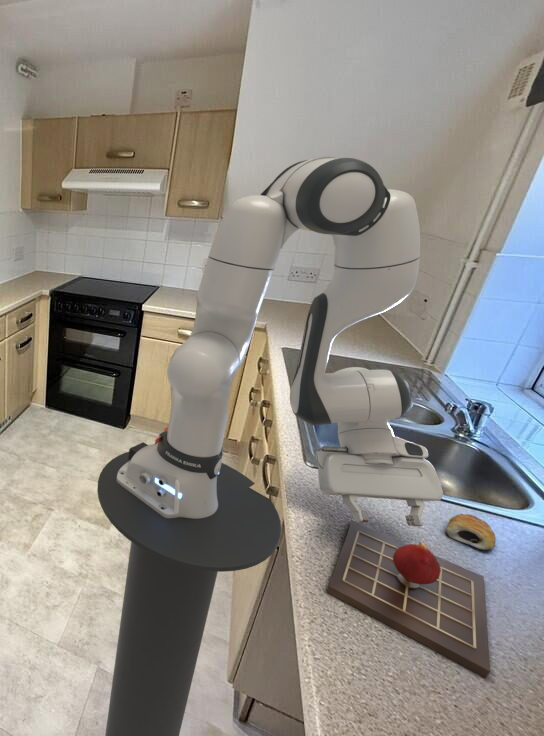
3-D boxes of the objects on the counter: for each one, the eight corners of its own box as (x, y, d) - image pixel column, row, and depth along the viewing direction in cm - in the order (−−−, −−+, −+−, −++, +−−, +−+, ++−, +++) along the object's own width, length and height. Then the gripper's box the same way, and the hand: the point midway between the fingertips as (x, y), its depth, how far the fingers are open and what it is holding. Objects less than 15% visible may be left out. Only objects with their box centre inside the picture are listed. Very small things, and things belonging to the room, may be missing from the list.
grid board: (327, 592, 70) (329, 585, 70) (349, 525, 85) (352, 519, 85) (485, 678, 58) (490, 670, 57) (480, 582, 73) (484, 575, 72)
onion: (435, 584, 70) (453, 548, 68) (425, 601, 67) (443, 564, 64) (393, 561, 75) (408, 526, 72) (382, 576, 72) (397, 540, 69)
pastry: (450, 515, 89) (457, 500, 87) (496, 534, 84) (504, 519, 82) (442, 535, 83) (450, 520, 82) (490, 557, 78) (499, 541, 77)
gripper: (323, 441, 79) (340, 518, 74) (436, 448, 78) (462, 527, 72) (304, 448, 85) (319, 520, 79) (409, 455, 84) (432, 528, 78)
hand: (388, 524), depth 76 cm, fingers open, 8 cm apart
